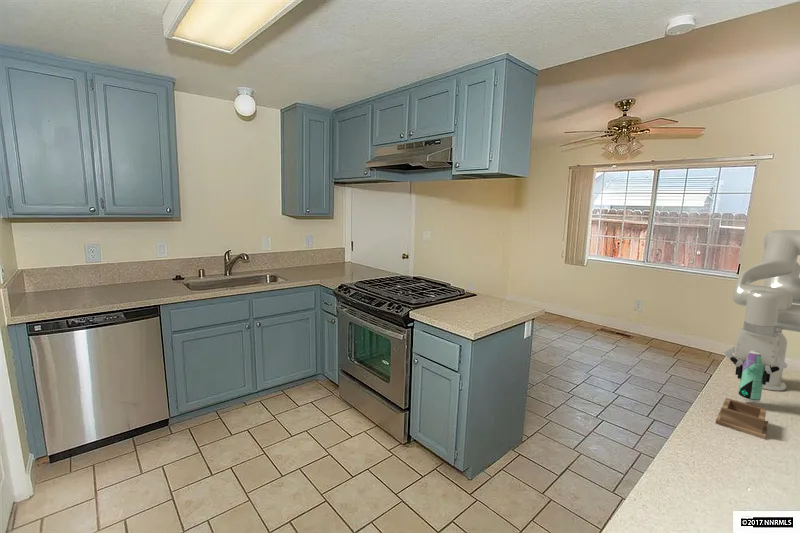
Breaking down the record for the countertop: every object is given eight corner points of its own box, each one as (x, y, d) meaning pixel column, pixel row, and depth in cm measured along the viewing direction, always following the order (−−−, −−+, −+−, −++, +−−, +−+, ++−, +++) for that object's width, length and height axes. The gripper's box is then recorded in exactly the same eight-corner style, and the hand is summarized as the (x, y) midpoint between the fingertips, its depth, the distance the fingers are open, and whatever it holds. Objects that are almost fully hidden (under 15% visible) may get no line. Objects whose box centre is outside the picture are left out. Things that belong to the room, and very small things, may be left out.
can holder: (721, 410, 122) (723, 396, 121) (768, 424, 114) (770, 409, 113) (715, 423, 114) (717, 408, 114) (765, 439, 106) (767, 423, 106)
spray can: (751, 394, 127) (759, 338, 124) (765, 402, 122) (773, 344, 119) (733, 393, 128) (741, 338, 124) (746, 401, 122) (755, 344, 119)
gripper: (797, 331, 117) (789, 385, 120) (726, 320, 130) (719, 368, 133) (797, 337, 112) (788, 393, 115) (722, 325, 125) (716, 375, 128)
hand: (751, 379), depth 124 cm, fingers closed on spray can, 5 cm apart
